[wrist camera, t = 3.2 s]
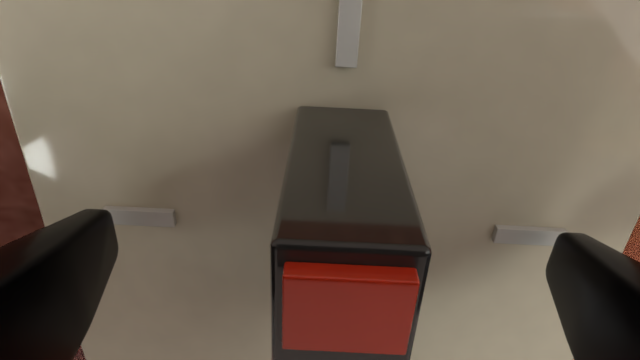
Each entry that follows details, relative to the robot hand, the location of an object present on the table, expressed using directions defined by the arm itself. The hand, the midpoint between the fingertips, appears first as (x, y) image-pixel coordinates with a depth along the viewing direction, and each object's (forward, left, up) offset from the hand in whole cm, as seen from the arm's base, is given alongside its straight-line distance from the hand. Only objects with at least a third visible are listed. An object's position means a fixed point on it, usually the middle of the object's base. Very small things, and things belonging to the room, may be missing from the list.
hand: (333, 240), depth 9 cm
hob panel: (0, 0, -4) cm, 4 cm away
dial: (0, 0, -1) cm, 1 cm away
